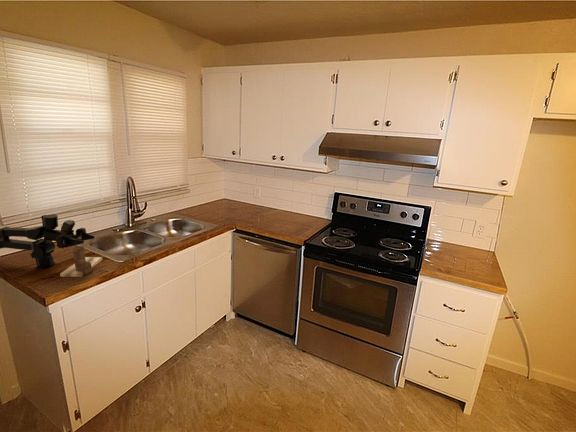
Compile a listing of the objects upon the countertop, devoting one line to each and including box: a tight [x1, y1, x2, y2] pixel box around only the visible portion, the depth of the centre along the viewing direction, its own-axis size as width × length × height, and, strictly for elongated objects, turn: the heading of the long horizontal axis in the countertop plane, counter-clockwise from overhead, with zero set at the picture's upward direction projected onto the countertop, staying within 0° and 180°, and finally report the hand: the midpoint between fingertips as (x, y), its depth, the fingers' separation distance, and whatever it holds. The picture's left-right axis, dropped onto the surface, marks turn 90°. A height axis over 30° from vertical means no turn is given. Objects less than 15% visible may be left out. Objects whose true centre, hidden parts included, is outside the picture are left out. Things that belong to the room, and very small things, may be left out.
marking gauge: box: [72, 245, 93, 276], centre depth 156 cm, size 6×5×14 cm
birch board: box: [59, 256, 103, 278], centre depth 163 cm, size 10×20×2 cm, turn 3°
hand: (89, 239), depth 160 cm, fingers open, 9 cm apart
